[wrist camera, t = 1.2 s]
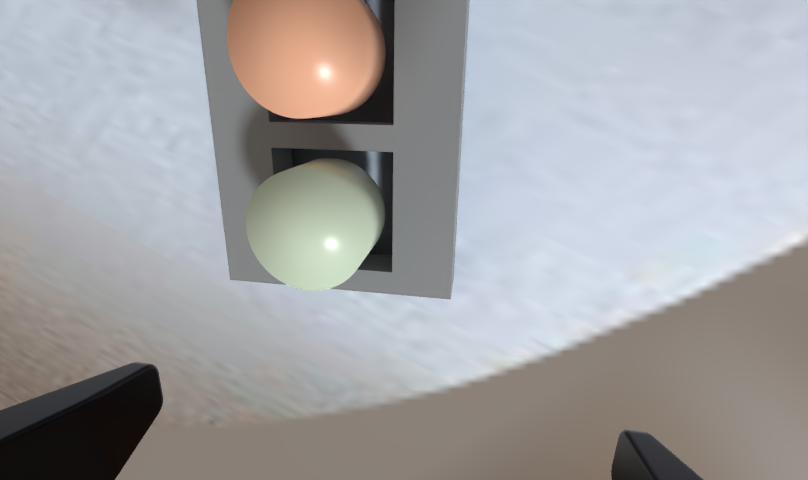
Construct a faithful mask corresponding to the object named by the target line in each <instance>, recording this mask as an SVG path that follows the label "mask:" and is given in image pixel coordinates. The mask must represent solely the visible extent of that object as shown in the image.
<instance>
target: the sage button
mask: <svg viewBox="0 0 808 480" xmlns="http://www.w3.org/2000/svg"><path fill="white" fill-rule="evenodd" d="M384 223H385V205H384V200H383V197H382V194H381V192H380V190H379V188H378V186H377V185H376V183H375V182H374V180H373V179H372V178H371V177H370V175H368V174H367V173H366V172H365V171H364V170H363V169H361V168H360V167H359V166H357V165H355V164H353V163H351V162H349V161H346V160H343V159H339V158H320V159H316V160H312V161H310V162H307V163H304V164H301V165H299V166H296V167H293V168H290V169H288V170H285V171H282V172H279V173H277V174H275V175H273V176H271V177H269V178H268V179H267V180H265V181H264V182H263V183H262V184H261V185H260V186H259V187H258V188H257V190H256V191H255V192H254V194H253V196H252V198H251V200H250V202H249V205H248V209H247V214H246V231H247V236H248V240H249V243H250V246H251V248H252V251H253V253H254V254H255V256H256V258H257V259H258V261H259V262H260V263H261V265H262V266H263V267H264V268H265V269H266V270H267V271H268V272H269V273H270V274H271V275H272V276H274V277H275V278H276V279H278V280H279V281H281V282H283V283H285V284H287V285H289V286H291V287H294V288H298V289H301V290H308V291H319V290H326V289H330V288H333V287H336V286H338V285H340V284H342V283H343V282H345V281H346V280H347V279H349V278H350V277H351V276H352V275H353V274H354V273H355V271H356V270H357V269H358V267H359V266H360V265H361V263H362V262H363V260H364V259H365V258H366V256H367V255H368V254H369V252H370V251H371V249H372V248H373V247H374V245H375V244H376V243H377V241H378V240H379V238H380V236H381V234H382V231H383V228H384Z"/></svg>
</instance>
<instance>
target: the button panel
mask: <svg viewBox="0 0 808 480" xmlns="http://www.w3.org/2000/svg"><path fill="white" fill-rule="evenodd" d="M232 2H233V0H197V6H198V15H199V23H200V32H201V40H202V48H203V57H204V65H205V73H206V82H207V90H208V98H209V107H210V115H211V123H212V132H213V140H214V148H215V157H216V165H217V173H218V182H219V190H220V198H221V207H222V215H223V223H224V232H225V240H226V248H227V257H228V265H229V273H230V280H239V281H250V282H262V283H273V284H284V285H287V284H285V283H283V282H281V281H279V280H278V279H276V278H275V277H274V276H272V275H271V274H270V273H269V272H268V271H267V270H266V269H265V268H264V267H263V266H262V265H261V263H260V262H259V261H258V259H257V258H256V256H255V254H254V253H253V251H252V248H251V246H250V243H249V240H248V236H247V231H246V214H247V209H248V205H249V202H250V200H251V198H252V196H253V194H254V192H255V191H256V190H257V188H258V187H259V186H260V185H261V184H262V183H263V182H264V181H265V180H267V179H268V178H269V177H271V176H273V175H275V174H277V173H279V172H282V171H285V170H288V169H290V168H293V156H292V148H295V149H322V150H349V151H376V152H393V237H392V256H391V255H378V254H368V255H367V256H366V258H365V259H364V260H363V262H362V263H361V265H360V266H359V267H358V269H357V270H356V271H355V273H354V274H353V275H352V276H351V277H350V278H349V279H347V280H346V281H345V282H343V283H342V284H340V285H338V286H336V287H333V288H330V289H340V290H352V291H363V292H374V293H385V294H397V295H408V296H419V297H430V298H442V299H451V293H452V286H453V277H454V260H455V242H456V225H457V207H458V190H459V172H460V155H461V138H462V120H463V103H464V85H465V68H466V51H467V33H468V16H469V0H395V9H394V122H361V121H323V120H290V118H288V117H284V116H281V115H278V114H275V113H273V112H271V111H269V110H268V109H266V108H264V107H263V106H262V105H260V104H259V103H258V102H256V101H255V100H254V99H253V98H252V97H251V96H250V95H249V93H248V92H247V91H246V90H245V89H244V87H243V86H242V84H241V83H240V81H239V79H238V77H237V75H236V74H235V71H234V69H233V66H232V64H231V60H230V56H229V52H228V46H227V22H228V16H229V12H230V8H231V5H232Z"/></svg>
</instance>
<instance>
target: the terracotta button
mask: <svg viewBox="0 0 808 480" xmlns="http://www.w3.org/2000/svg"><path fill="white" fill-rule="evenodd" d="M227 46H228V52H229V56H230V60H231V64H232V66H233V69H234V71H235V74H236V75H237V77H238V79H239V81H240V83H241V84H242V86H243V87H244V89H245V90H246V91H247V92H248V93H249V95H250V96H251V97H252V98H253V99H254V100H255V101H256V102H258V103H259V104H260V105H262V106H263V107H264V108H266V109H268V110H269V111H271V112H273V113H275V114H278V115H281V116H284V117H288V118H296V119H304V118H315V117H324V116H333V115H340V114H345V113H347V112H350V111H352V110H354V109H356V108H358V107H359V106H361V105H362V104H364V103H365V102H366V101H367V100H368V99H369V98H370V97H371V95H372V94H373V93H374V91H375V90H376V88H377V86H378V85H379V82H380V80H381V78H382V75H383V71H384V67H385V60H386V46H385V39H384V35H383V31H382V28H381V26H380V23H379V21H378V19H377V17H376V16H375V14H374V12H373V11H372V10H371V8H370V7H369V6H368V5H367V4H366V3H365V2H364V1H363V0H233V2H232V5H231V8H230V12H229V16H228V22H227Z"/></svg>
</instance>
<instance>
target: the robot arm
mask: <svg viewBox="0 0 808 480" xmlns="http://www.w3.org/2000/svg"><path fill="white" fill-rule="evenodd" d="M162 404H163V395H162V389H161V383H160V378H159V372H158V369H157V368H156V366H154V365H152V364H146V363H139V362H135V363H131V364H128V365H125V366H122V367H119V368H117V369H114V370H111V371H108V372H106V373H103V374H100V375H97V376H94V377H92V378H89V379H86V380H83V381H81V382H78V383H75V384H72V385H69V386H67V387H64V388H61V389H58V390H56V391H53V392H50V393H47V394H44V395H42V396H39V397H36V398H33V399H31V400H28V401H25V402H22V403H19V404H17V405H14V406H11V407H8V408H5V409H3V410H0V480H115V478H116V477H117V476H118V474H119V473H120V471H121V470H122V468H123V466H124V465H125V464H126V462H127V460H128V459H129V458H130V455H131V454H132V453H133V451H134V450H135V448H136V447H137V445H138V444H139V442H140V441H141V439H142V438H143V436H144V435H145V433H146V432H147V430H148V429H149V427H150V426H151V424H152V423H153V421H154V420H155V418H156V417H157V415H158V413H159V412H160V410H161V407H162ZM611 473H612V474H611V476H612V480H703V479H702V478H701V477H700V476H699V475H697V474H696V473H695V472H694V471H693V470H692V469H690V468H689V467H688V466H687V465H686V464H685V463H683V462H682V461H681V460H680V459H679V458H678V457H676V456H675V455H674V454H673V453H672V452H671V451H669V450H668V449H667V448H666V447H665V446H664V445H662V444H661V443H660V442H659V441H658V440H657V439H656V438H654V437H653V436H652V435H650V434H649V433H647V432H641V431H634V430H627V429H626V430H623V431H621V433H620V435H619V438H618V442H617V446H616V451H615V455H614V459H613V463H612V470H611Z"/></svg>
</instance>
